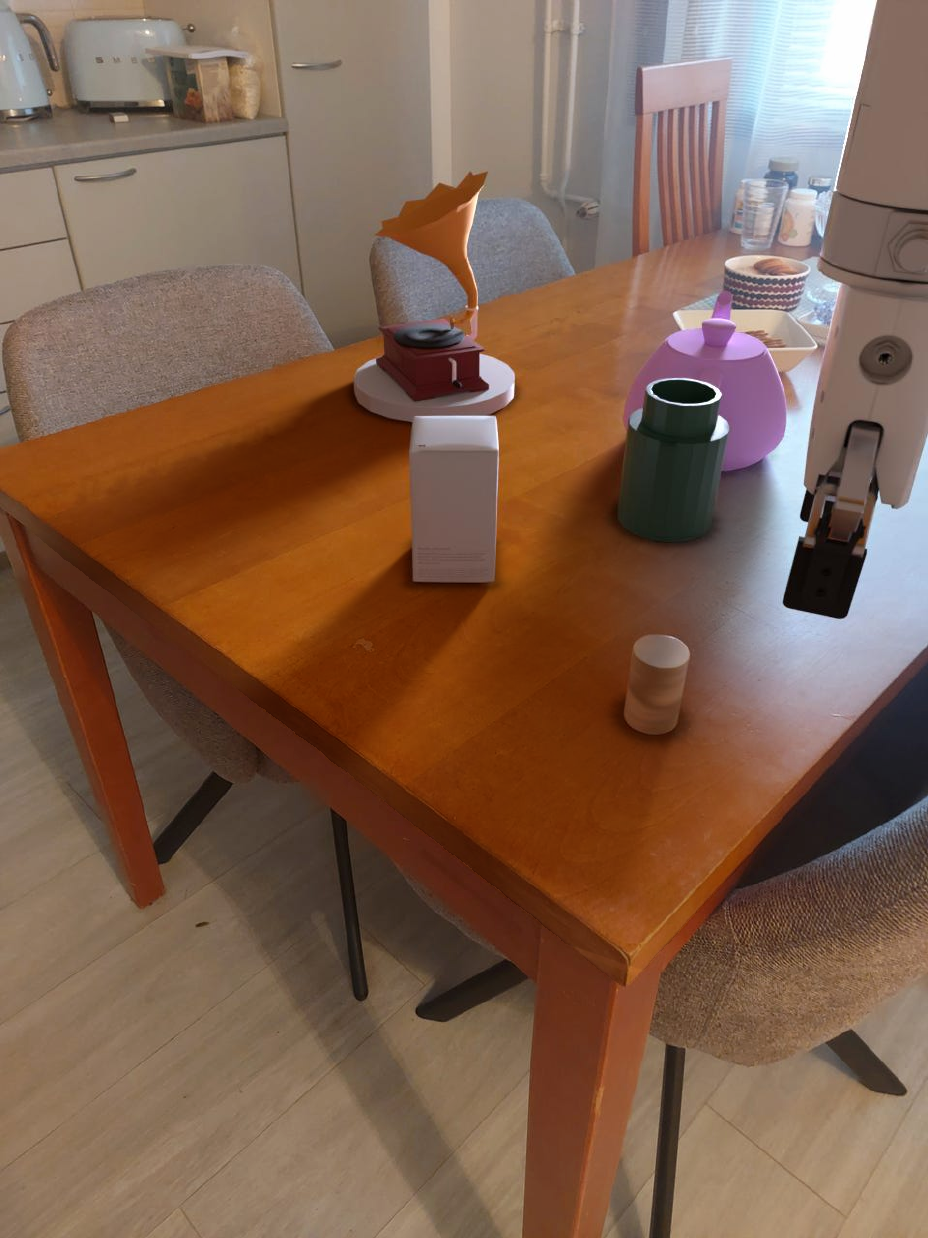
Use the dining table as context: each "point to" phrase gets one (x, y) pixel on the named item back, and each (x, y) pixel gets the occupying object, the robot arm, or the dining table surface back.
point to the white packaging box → (453, 498)
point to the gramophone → (436, 325)
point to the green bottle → (673, 461)
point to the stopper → (656, 683)
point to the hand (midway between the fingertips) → (820, 563)
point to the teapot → (724, 382)
